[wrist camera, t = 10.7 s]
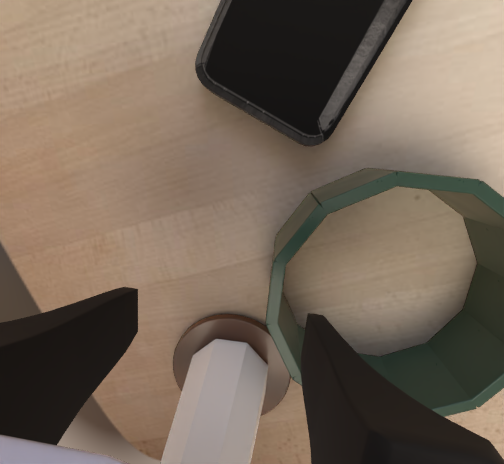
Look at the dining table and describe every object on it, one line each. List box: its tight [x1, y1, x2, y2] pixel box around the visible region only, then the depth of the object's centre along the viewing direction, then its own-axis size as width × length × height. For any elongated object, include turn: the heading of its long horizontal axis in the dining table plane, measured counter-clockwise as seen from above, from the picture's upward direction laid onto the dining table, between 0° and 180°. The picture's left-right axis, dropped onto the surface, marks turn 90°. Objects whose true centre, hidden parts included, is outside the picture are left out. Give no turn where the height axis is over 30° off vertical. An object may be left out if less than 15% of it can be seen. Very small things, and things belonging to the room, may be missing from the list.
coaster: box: [173, 314, 290, 416], centre depth 20 cm, size 8×8×1 cm
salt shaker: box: [160, 339, 268, 464], centre depth 14 cm, size 5×5×11 cm
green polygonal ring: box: [265, 168, 504, 417], centre depth 15 cm, size 12×12×4 cm
